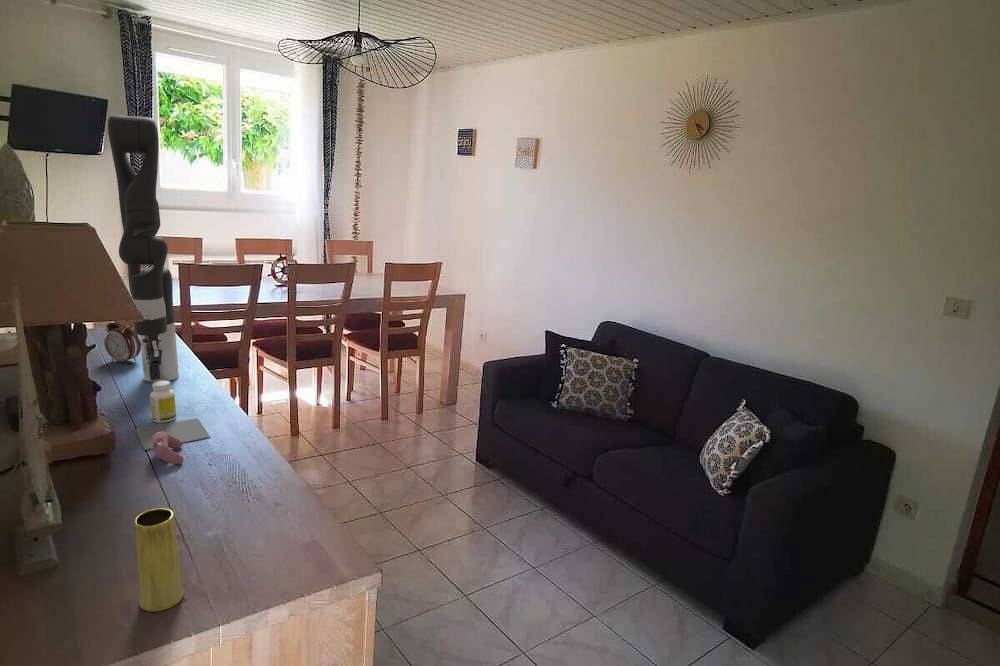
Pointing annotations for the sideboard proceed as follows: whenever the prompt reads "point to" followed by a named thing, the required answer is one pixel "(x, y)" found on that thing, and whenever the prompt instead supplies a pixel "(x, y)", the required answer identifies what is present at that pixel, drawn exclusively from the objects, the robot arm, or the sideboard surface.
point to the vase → (158, 560)
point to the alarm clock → (121, 342)
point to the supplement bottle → (162, 402)
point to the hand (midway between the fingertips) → (155, 378)
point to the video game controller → (161, 447)
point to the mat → (173, 432)
